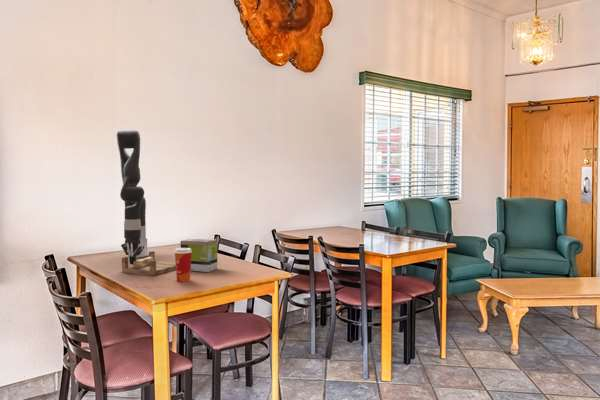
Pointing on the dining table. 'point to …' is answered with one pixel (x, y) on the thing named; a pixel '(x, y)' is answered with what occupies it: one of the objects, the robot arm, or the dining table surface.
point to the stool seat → (148, 267)
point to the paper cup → (183, 264)
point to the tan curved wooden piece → (143, 262)
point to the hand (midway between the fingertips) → (132, 264)
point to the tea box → (202, 253)
